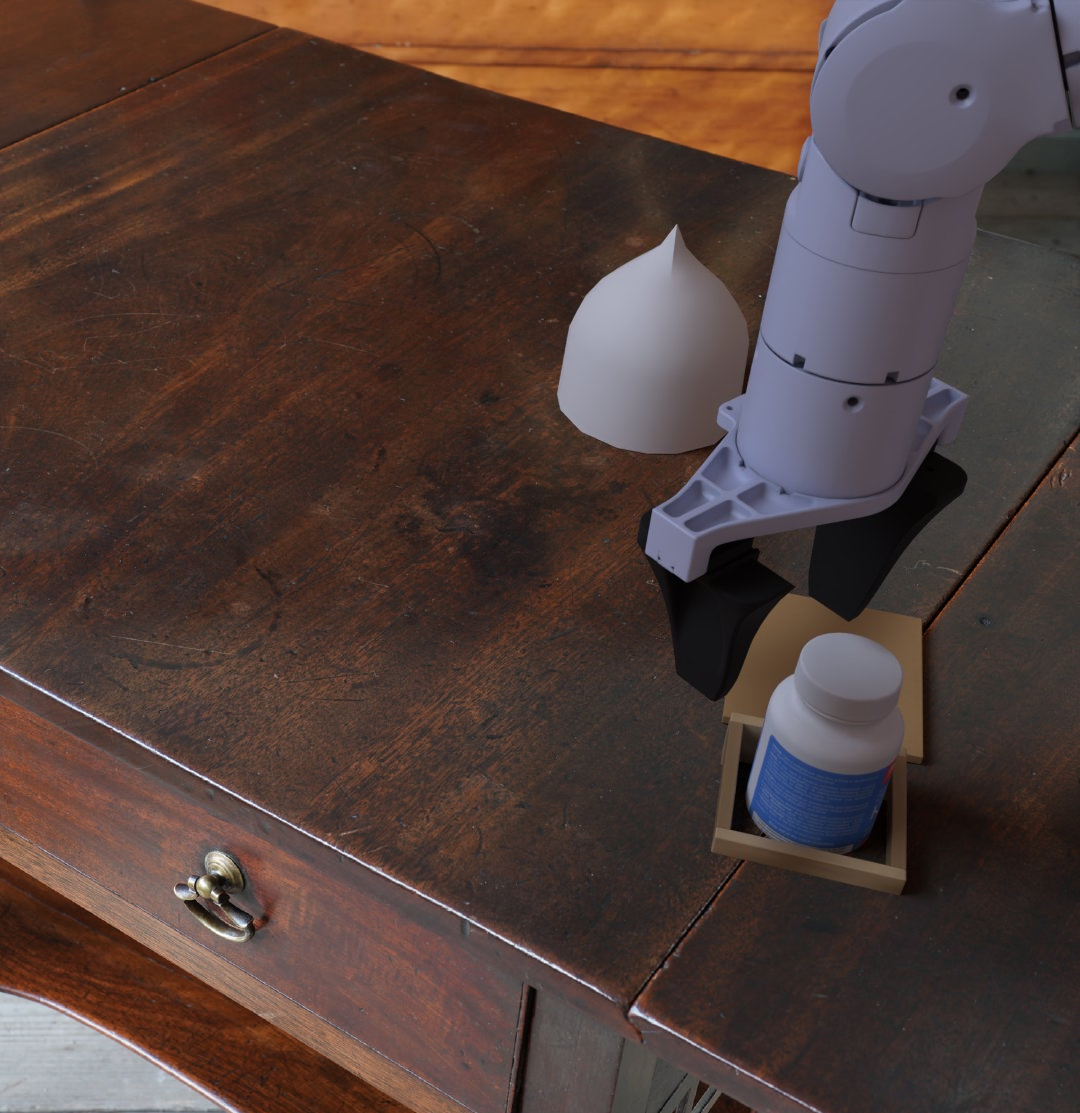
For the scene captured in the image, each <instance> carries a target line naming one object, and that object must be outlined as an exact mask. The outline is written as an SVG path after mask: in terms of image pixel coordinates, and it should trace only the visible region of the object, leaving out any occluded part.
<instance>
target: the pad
mask: <svg viewBox="0 0 1080 1113" xmlns="http://www.w3.org/2000/svg"><path fill="white" fill-rule="evenodd" d="M829 633H849V634H855V635H859V636H863V637H866V638H868V639H871V640H873V641H875V642H877V643H879V644H881V645H882V646H884V647H885V648H887V649H888V650H889V651H890V652H892V653H893V654H894V656H895V657H896V658H897V659H898V661H899V663H900V664H901V666H902V668H903V674H904V680H903V684H902V688H901V691H900V695H899V701H898V704H897V705H898V707H899V709H900V711H901V713H902V716H903V719H904V726H905V733H904V739H903V743H902V746H901V747H903V748H906V749H907V763H911V764H917V765H921V764H922V762H923V759H924V690H923V688H924V686H923V685H924V684H923V682H924V680H923V676H924V675H923V674H924V673H923V672H924V671H923V618H922V617H916V616H912V615H906V614H901V613H896V612H890V611H885V610H879V609H874V608H870V607H869V608H868V607H866V608H865V609H864V610H863V611H862V613H861V614H860V615H859V616H858V617H856V618H855V619H853V620H851V621H850V622H848V621H846V620H845V619H843V618H842V617H840V616H839V615H837V614H836V613H834V612H833V611H831V610H830V609H828V608H827V607H825V606H824V605H822V604H821V603H819V602H818V601H816V600H815V599H813V598H812V597H811V596H805V595H800V594H794V593H791V592H789V593H788V594H787V595H786V596H785V597H784V598H783V599H781V600H780V601H779V602H778V604H777V605H776V606H775V607H774V608H773V609H772V611H771V612H770V613H769V614H768V616H767V617H766V619H765V620H764V622H763V623H762V625H761V626H760V628H759V630H758V631H757V633H756V635H755V637H754V639H753V641H752V643H751V645H750V648H749V651H748V653H747V656H746V659H745V661H744V664H743V667H742V669H741V672H740V674H739V677H738V679H737V681H736V682H735V684H734V686H733V687H732V689H731V690H730V691H729V693H728V694H727V695H726V696H724V699H723V700H724V701H723V707H722V714H721V715H722V716H721V723H722V724H726V725H728V724H729V720H730V716H731V713H732V712H735V713H740V714H745V715H750V716H754V717H759V718H764V719H765V715H766V712H767V708H768V704H769V701H770V698H771V696H772V694H773V692H774V691H775V689H776V688H777V686H778V685H779V684H780V683H781V682H782V681H783V680H785V679H786V678H787V677H789V676H791V675H793V674H794V673H795V669H796V667H797V663H798V660H799V657H800V654H801V652H802V649H803V648H804V646H805V645H806V644H807V643H808V642H809V641H810V640H812V639H814V638H815V637H818V636H820V635H824V634H829Z"/></svg>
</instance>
